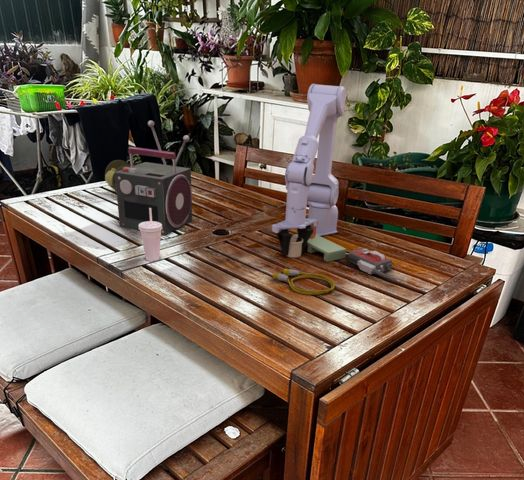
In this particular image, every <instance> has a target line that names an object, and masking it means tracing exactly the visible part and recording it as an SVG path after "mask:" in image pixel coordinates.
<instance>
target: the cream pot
mask: <svg viewBox="0 0 524 480" xmlns="http://www.w3.org/2000/svg"><path fill="white" fill-rule="evenodd" d="M302 243H303V239H302V238H300V237H296V236H293V235H292V237H291V240H290V244H289V252H288V255H286V256H285V257H288V258H300V257H301V256H302V252H301V251H302Z"/></svg>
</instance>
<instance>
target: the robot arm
mask: <svg viewBox="0 0 524 480" xmlns="http://www.w3.org/2000/svg"><path fill="white" fill-rule="evenodd" d="M346 91H347V90H346V88H345V86H343V85H341V86H340V85H339V86H338V85H325V84H316V83H311V84H310V86H309V87H308V90H307V95H306V96H307V97H306V102H307V108H308V112H309V114H308V118H307V122H306V127H305V132H304V135H302V136H300V138H299V139H298V141H297V143H296V148H295V152H294V153H293V157H292V160H291V162H288V163H287V165H286V168H285V172H284V181H285V190H286V201H285V202H286V203H285V204H286V205H285V217H284V220H282V221H279V222H277V223H275V224H272V226H271V232H273V233H275V234H276V236H277V240H278V242H279V245H280V249H281V254H282V255H284V256H285V257H287V256H286V255H288V252H289V244H290V240H291V237H292V236H293V234H292V233H290V231H292V230H296V231H297V234H298V237H300V238H302V239H303V243H302V251H301V253H304V252H305V249H306V247H307V241H308V239H309V238H310V236H311V235H312V233H313V231H314V229H313V228H311V226H316V224H317V221H318V224H317V228H316V235H318V236H321V237H322V236H327V235H332V234H333V235H334V234H337V233H339V231H338V230H337V228H338V227H337V226H338V219H339V210H338V207H337V206H336V204H337V202H338V199H339V193H340V191H339V186H340V185H339V184H340V183H339V180H338V179H337V178H336V177H335V176H334V175H333V174H332V167H333V158H334V149H335V140H336V131H337V123H338V120H339V118H340V117H344V113H345V108H346V100H347V92H346ZM315 159H316V162H315ZM314 162H315V163H316V164H314ZM314 168H315V173H314ZM307 206H308V207H307ZM307 208H308V211H307ZM307 212H308V213H307ZM306 217H307V218H306Z"/></svg>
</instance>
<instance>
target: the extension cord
mask: <svg viewBox="0 0 524 480" xmlns="http://www.w3.org/2000/svg"><path fill="white" fill-rule="evenodd" d="M295 276H296V277H295ZM289 277H293V278H291V279H289ZM308 278H311V279H318V280H321V281H325V282H327V283H329V285H330V288H328V289H324V290H312V289H311V290H310V289H304V288H299V287H297V286H295V284H294V282H295V281H298V280H301V279H308ZM272 279H274V280H277V281H280V282H287V283H288V285H289V287H290V288H291V290H293V291H294V292H296V293H298V294H302V295H309V296H311V295H313V296H314V295H315V296H317V295H323V294H328V293H330V292H331V291H333V290H334V289H335V286H336V285H335V281H334V280H333V279H332V278H331V277H328V276H326V275H323V274H320V273H319V274H318V273H313V272H312V273H310V272H300V270H296V269H292V268H291V269H290V268H286V267H285V268H283V272H282V273H280V272H279V273H278V272H273V274H272Z"/></svg>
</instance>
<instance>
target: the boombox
mask: <svg viewBox="0 0 524 480" xmlns="http://www.w3.org/2000/svg"><path fill="white" fill-rule="evenodd" d="M147 126H148V127H149V128H151V132H152V134H153V137H154V140H155V143H156V146H157V149H152V148H151V149H150V148H143V147H136V146H128V154H129V159H130V160H129V165H130V166H131V167H124V168H122V170H119V171H116V172H114V174H115V183H116V191H115V193H116V202H117V203H116V204H117V212H118V221H119V227H121V228H125V229H132V230H136V231H140V230H139V229H138V228H139V226H138V225H139V224H140V223H142V222H146V221H150V214H149V208H151V212H152V221H155V222H159V223H161V224H162V229H161V236H168V235H169V234H171V233H173V232H175V231H177V230H178V229H180V228H181V227H184V226H185V225H187V224H189V223H191V222H192V221H193V190H192V168H190V167H183V166H177V164H178V162H179V160H180V157H181V155H182V152H183V151H184V148H185V146H186V143H188V142H189V141H190V136H189V135H187V134H186V135H184V136H183V137H182V140H183V142H182V145H181V147H180V148H179V151H178V153H176V152H174V151H166V150H162V148H161V145H160V142H159V138H158V136H157V133H156V129H155V127H154V126H155V121H153V120H148V121H147ZM133 155H139V156H145V157H152V158H153V157H154V158H161V160H162V163H163V164H162V163H155V162H148V161H144V162H141V163H138V164H135V165H134V156H133ZM166 159H167V160H172V165H171V164H170V165H169V164H167V162H166Z"/></svg>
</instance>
